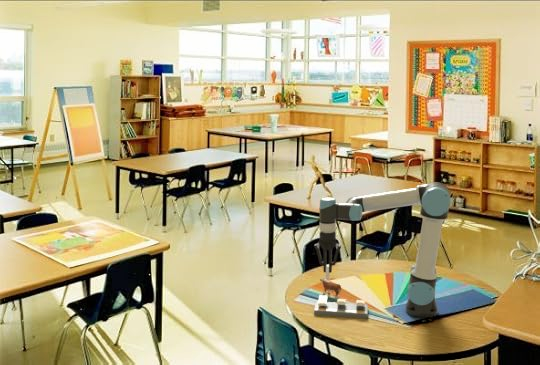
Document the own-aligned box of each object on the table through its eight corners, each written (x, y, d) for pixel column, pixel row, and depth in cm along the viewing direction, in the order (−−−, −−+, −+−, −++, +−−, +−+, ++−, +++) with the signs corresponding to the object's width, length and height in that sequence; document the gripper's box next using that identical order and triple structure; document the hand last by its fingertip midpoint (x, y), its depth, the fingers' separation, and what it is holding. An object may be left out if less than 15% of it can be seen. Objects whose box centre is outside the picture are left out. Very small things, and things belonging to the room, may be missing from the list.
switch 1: (327, 297, 289) (327, 295, 288) (326, 306, 282) (326, 303, 282) (319, 297, 289) (319, 295, 289) (318, 305, 283) (318, 303, 283)
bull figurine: (323, 290, 311) (323, 275, 309) (342, 297, 301) (342, 282, 300) (317, 292, 308) (317, 277, 306) (337, 299, 298) (337, 284, 297)
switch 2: (364, 302, 286) (364, 300, 286) (364, 306, 279) (364, 303, 279) (356, 302, 286) (356, 299, 286) (355, 305, 279) (356, 302, 279)
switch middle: (346, 301, 287) (346, 299, 287) (345, 304, 280) (345, 302, 280) (337, 301, 288) (337, 298, 288) (336, 304, 281) (336, 301, 281)
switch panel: (367, 308, 287) (367, 301, 287) (367, 318, 276) (367, 311, 276) (316, 304, 292) (316, 298, 291) (314, 314, 281) (314, 307, 280)
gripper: (342, 229, 278) (341, 276, 283) (314, 228, 280) (314, 275, 285) (341, 233, 271) (340, 282, 275) (312, 232, 273) (313, 280, 278)
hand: (327, 278), depth 280 cm, fingers closed
